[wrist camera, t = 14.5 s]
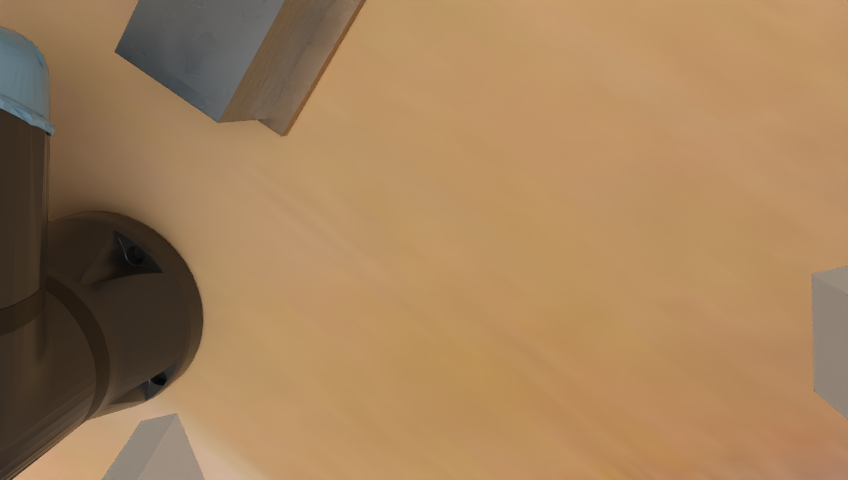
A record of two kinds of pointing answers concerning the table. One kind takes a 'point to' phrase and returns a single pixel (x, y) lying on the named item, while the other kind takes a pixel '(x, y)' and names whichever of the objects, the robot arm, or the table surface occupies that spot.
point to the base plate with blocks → (238, 52)
